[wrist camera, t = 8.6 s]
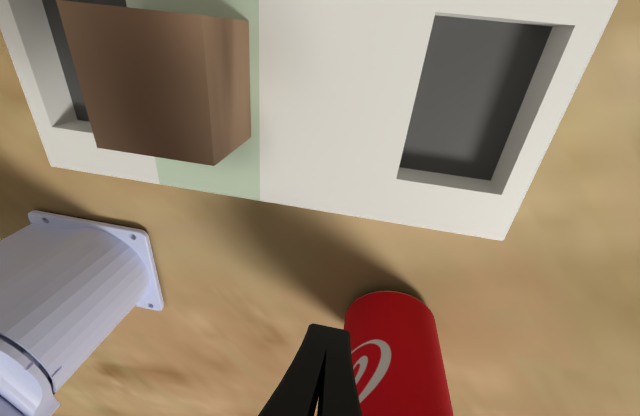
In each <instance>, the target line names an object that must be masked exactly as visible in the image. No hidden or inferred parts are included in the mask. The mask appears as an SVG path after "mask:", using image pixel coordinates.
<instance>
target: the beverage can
mask: <svg viewBox="0 0 640 416" xmlns="http://www.w3.org/2000/svg"><path fill="white" fill-rule="evenodd" d="M344 330H347V331H349V333H350V342H351V355H352V363H353V370H354V377H355V382H356V387H357V392H358V397H359V402H360V407H361V411H362V415H363V416H453V411H452V406H451V401H450V395H449V390H448V385H447V380H446V375H445V370H444V365H443V360H442V355H441V349H440V344H439V339H438V334H437V329H436V324H435V319H434V316H433V314H432V312H431V311H430V309H429V308H428V307H427V306H426V305H425V304H424V303H423V302H421V301H420V300H418V299H417V298H415V297H413V296H411V295H408V294H405V293H401V292H397V291H377V292H372V293H369V294H366V295H364V296H361V297H360V298H358V299H357V300H355V301H354V302H353V303H352V304H351V305H350V306H349V308H348V310H347V312H346V315H345V323H344Z"/></svg>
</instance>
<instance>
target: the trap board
mask: <svg viewBox="0 0 640 416" xmlns="http://www.w3.org/2000/svg"><path fill="white" fill-rule="evenodd" d="M63 1H72V2H82V3H91V4H101V5H110V6H120V7H129V8H139V9H148V10H158V11H167V12H177V13H186V14H196V15H205V16H213V17H221V18H229V19H238V20H246V21H249V57H250V107H251V138H249V139H248V140H247V141H246V142H244V143H243V144H242V145H240V146H239V147H238V148H237V149H235V150H234V151H233V152H232V153H230V154H229V155H228V156H226V157H225V158H224V159H223V160H221V161H220V162H219V163H218V164H216V165H215V166H210V165H204V164H197V163H191V162H185V161H178V160H172V159H166V158H159V157H153V156H146V155H140V154H134V153H127V152H121V151H114V150H108V149H102V148H97V146H96V142H95V138H94V135H93V131H92V128H91V124H90V121H89V117H88V113H87V110H86V106H85V103H84V99H83V95H82V92H81V88H80V85H79V81H78V78H77V74H76V70H75V67H74V63H73V60H72V56H71V52H70V49H69V45H68V42H67V38H66V35H65V31H64V27H63V24H62V20H61V17H60V13H59V9H58V6H57V2H56V0H0V29H1V32H2V35H3V37H4V40H5V43H6V45H7V48H8V51H9V54H10V56H11V59H12V62H13V64H14V67H15V70H16V73H17V75H18V78H19V81H20V83H21V86H22V89H23V92H24V94H25V97H26V100H27V102H28V105H29V108H30V111H31V113H32V116H33V119H34V121H35V124H36V127H37V130H38V132H39V135H40V138H41V140H42V143H43V146H44V149H45V151H46V154H47V157H48V159H49V162H50V165H51V166H52V167H58V168H64V169H70V170H77V171H83V172H89V173H95V174H101V175H107V176H113V177H119V178H125V179H131V180H137V181H143V182H149V183H155V184H161V185H167V186H173V187H179V188H185V189H191V190H197V191H204V192H210V193H216V194H222V195H228V196H234V197H240V198H246V199H252V200H258V201H264V202H270V203H276V204H282V205H288V206H294V207H300V208H306V209H312V210H318V211H325V212H331V213H337V214H343V215H349V216H355V217H361V218H367V219H373V220H379V221H385V222H391V223H397V224H403V225H409V226H415V227H421V228H427V229H433V230H439V231H445V232H452V233H458V234H464V235H470V236H476V237H482V238H488V239H494V240H500V241H503V240H504V238H505V236H506V234H507V232H508V230H509V228H510V226H511V224H512V221H513V219H514V217H515V215H516V213H517V211H518V209H519V207H520V205H521V203H522V201H523V198H524V196H525V194H526V192H527V190H528V188H529V186H530V184H531V182H532V180H533V178H534V175H535V173H536V171H537V169H538V167H539V165H540V163H541V161H542V159H543V157H544V155H545V152H546V150H547V148H548V146H549V144H550V142H551V140H552V138H553V136H554V134H555V132H556V129H557V127H558V125H559V123H560V121H561V119H562V117H563V115H564V113H565V111H566V109H567V106H568V104H569V102H570V100H571V98H572V96H573V94H574V92H575V90H576V88H577V86H578V83H579V81H580V79H581V77H582V75H583V73H584V71H585V69H586V67H587V65H588V62H589V60H590V58H591V56H592V54H593V52H594V50H595V48H596V46H597V44H598V42H599V39H600V37H601V35H602V33H603V31H604V29H605V27H606V25H607V23H608V21H609V19H610V16H611V14H612V12H613V10H614V8H615V6H616V4H617V2H618V0H63Z"/></svg>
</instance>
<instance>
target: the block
mask: <svg viewBox="0 0 640 416" xmlns="http://www.w3.org/2000/svg"><path fill="white" fill-rule="evenodd" d="M56 2H57V6H58V9H59V13H60V17H61V20H62V24H63V27H64V31H65V35H66V38H67V42H68V45H69V49H70V52H71V56H72V60H73V63H74V67H75V70H76V74H77V78H78V81H79V85H80V88H81V92H82V95H83V99H84V103H85V106H86V110H87V113H88V117H89V121H90V124H91V128H92V131H93V135H94V138H95V142H96V146H97V148H102V149H108V150H114V151H121V152H127V153H134V154H140V155H146V156H153V157H159V158H166V159H172V160H178V161H185V162H191V163H197V164H204V165H210V166H215V165H216V164H218V163H219V162H220V161H221V160H223V159H224V158H225V157H226V156H228V155H229V154H230V153H232V152H233V151H234V150H235V149H237V148H238V147H239V146H240V145H242V144H243V143H244V142H246V141H247V140H248V139H249V138H251V107H250V57H249V21H246V20H238V19H229V18H221V17H213V16H205V15H196V14H186V13H177V12H167V11H158V10H148V9H139V8H129V7H120V6H110V5H101V4H91V3H82V2H72V1H63V0H56Z"/></svg>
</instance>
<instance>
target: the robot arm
mask: <svg viewBox="0 0 640 416" xmlns="http://www.w3.org/2000/svg"><path fill="white" fill-rule="evenodd" d="M28 218H29V221H30V223H31V224H30V225H28V226H26V227H24V228H22V229H21V230H19V231H17V232H15V233H13V234H11V235H9V236H8V237H6V238H4V239H2V240H0V416H51V415H52V414H53V413H54V412H55V411H56V409H57V408H58V407H59V406H60V402H59V401H58V400H57V399H56V398H55V397H54V394H55V393H56V392H57V391H58V390H59V389H60V388H61V387H62V385H63V384H64V383H65V382H66V381H67V380H68V379H69V378H70V377H71V376H72V374H73V373H74V372H75V371H76V370H77V369H78V368H79V367H80V366H81V365H82V363H83V362H84V361H85V360H86V359H87V358H88V357H89V356H90V355H91V354H92V352H93V351H94V350H95V349H96V348H97V347H98V346H99V345H100V344H101V342H102V341H103V340H104V339H105V338H106V337H107V336H108V335H109V334H110V333H111V331H112V330H113V329H114V328H115V327H116V326H117V325H118V324H119V323H120V322H121V320H122V319H123V318H124V317H125V316H126V315H127V314H128V313H129V312H130V311H131V309H132V308H133V307H134V306H137V307H142V308H147V309H152V310H157V311H160V310H162V308H163V307H164V302H163V297H162V293H161V288H160V284H159V279H158V275H157V271H156V266H155V262H154V257H153V253H152V249H151V244H150V240H149V236H148V234H147V233H146V232H145V231H144V230H141V229H135V228H130V227H124V226H119V225H113V224H108V223H102V222H97V221H91V220H86V219H81V218H75V217H70V216H64V215H59V214H53V213H48V212H42V211H37V210H33V211H31V212H29V213H28ZM318 397H319V400H318ZM317 401H318V412H317V416H363V415H362V411H361V407H360V402H359V397H358V392H357V387H356V382H355V377H354V370H353V363H352V355H351V342H350V333H349V331H347V330H342V329H337V328H332V327H327V326H323V325H318V324H311V325H309V327H308V330H307V333H306V335H305V338H304V340H303V342H302V344H301V346H300V348H299V350H298V352H297V354H296V356H295V358H294V360H293V362H292V363H291V365H290V367H289V368H288V370H287V372H286V374H285V375H284V377H283V379H282V380H281V382H280V384H279V385H278V387H277V388H276V390H275V391H274V393H273V394H272V396H271V397H270V399H269V400H268V402H267V403H266V405H265V406H264V408H263V409H262V411H261V412H260V414H259V415H258V416H314V413H315V409H316V405H317Z"/></svg>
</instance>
